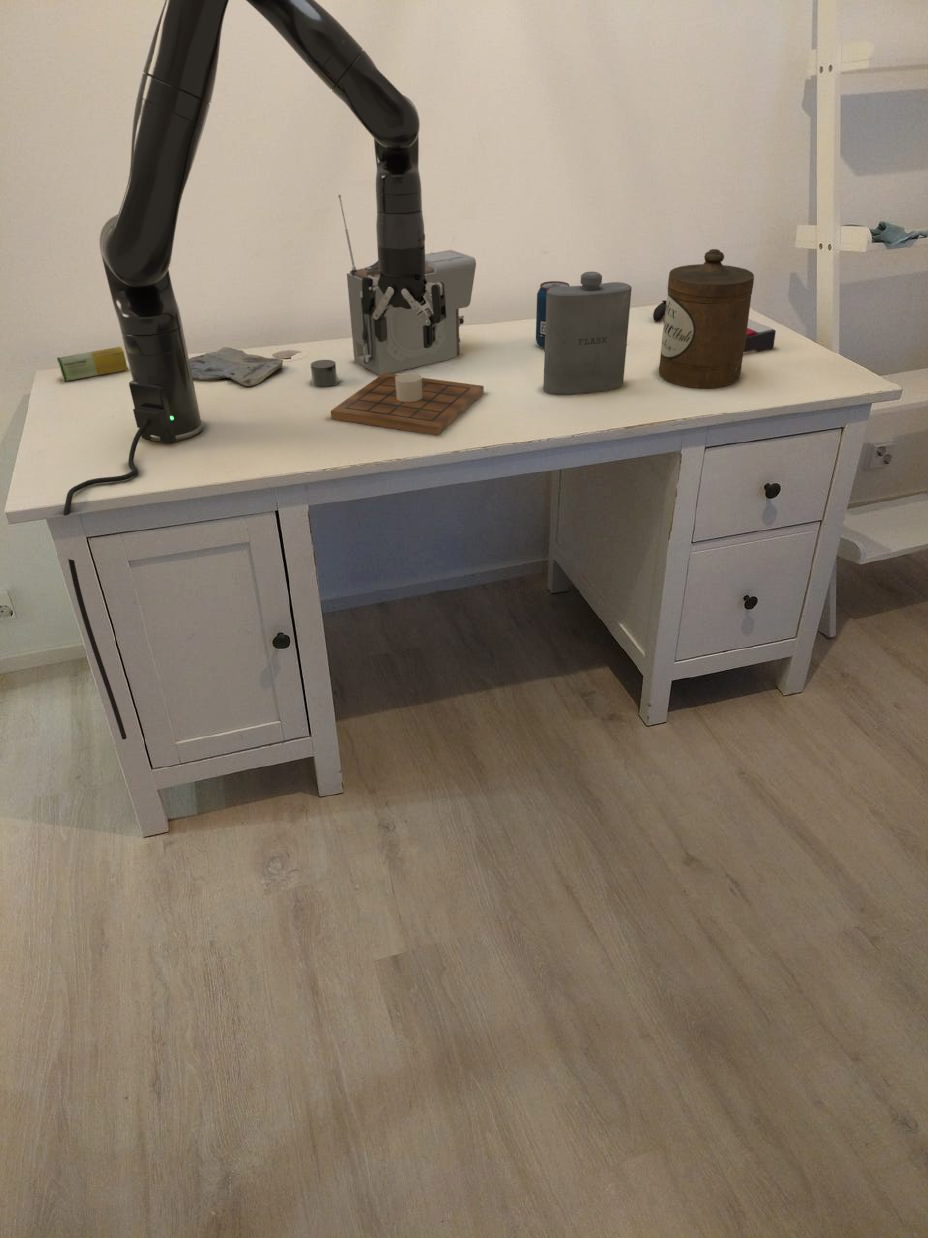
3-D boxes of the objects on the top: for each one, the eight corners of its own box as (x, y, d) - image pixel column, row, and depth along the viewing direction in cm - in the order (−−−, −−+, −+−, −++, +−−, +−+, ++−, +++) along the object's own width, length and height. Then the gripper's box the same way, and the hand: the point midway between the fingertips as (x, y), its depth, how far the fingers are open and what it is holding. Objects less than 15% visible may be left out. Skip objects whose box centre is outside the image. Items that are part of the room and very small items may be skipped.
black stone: (329, 388, 163) (327, 369, 161) (308, 385, 165) (305, 366, 163) (342, 380, 167) (340, 361, 165) (320, 377, 168) (318, 358, 166)
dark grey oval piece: (653, 318, 192) (654, 293, 193) (650, 331, 197) (652, 306, 198) (699, 319, 190) (699, 294, 192) (695, 332, 196) (696, 307, 197)
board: (437, 435, 145) (437, 426, 144) (331, 418, 151) (330, 410, 150) (483, 393, 160) (483, 385, 159) (385, 380, 166) (384, 372, 165)
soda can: (546, 338, 185) (548, 278, 178) (575, 343, 182) (579, 283, 175) (529, 347, 181) (530, 286, 174) (558, 353, 177) (561, 291, 170)
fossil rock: (290, 368, 173) (288, 356, 171) (239, 394, 162) (236, 381, 161) (221, 355, 180) (219, 343, 178) (167, 378, 169) (165, 366, 168)
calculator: (680, 326, 178) (741, 312, 182) (678, 347, 180) (738, 333, 185) (715, 341, 170) (777, 326, 174) (712, 363, 172) (774, 348, 177)
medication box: (64, 382, 168) (58, 362, 166) (61, 376, 170) (55, 357, 168) (128, 369, 173) (123, 350, 170) (125, 364, 175) (120, 345, 172)
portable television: (478, 352, 178) (477, 188, 161) (375, 377, 168) (362, 204, 150) (445, 337, 187) (441, 180, 169) (345, 360, 176) (330, 195, 159)
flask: (549, 397, 157) (553, 280, 146) (539, 386, 162) (543, 272, 151) (628, 389, 160) (639, 274, 149) (617, 378, 165) (626, 265, 153)
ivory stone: (415, 403, 152) (414, 383, 150) (391, 400, 154) (390, 379, 152) (426, 394, 156) (426, 374, 154) (403, 391, 157) (402, 371, 155)
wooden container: (653, 361, 172) (665, 241, 159) (730, 361, 171) (748, 239, 159) (664, 389, 160) (679, 261, 147) (747, 388, 159) (769, 259, 147)
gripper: (349, 242, 139) (357, 345, 148) (431, 249, 135) (434, 355, 144) (372, 232, 145) (378, 332, 154) (451, 239, 140) (453, 342, 149)
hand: (405, 343), depth 149 cm, fingers open, 8 cm apart
